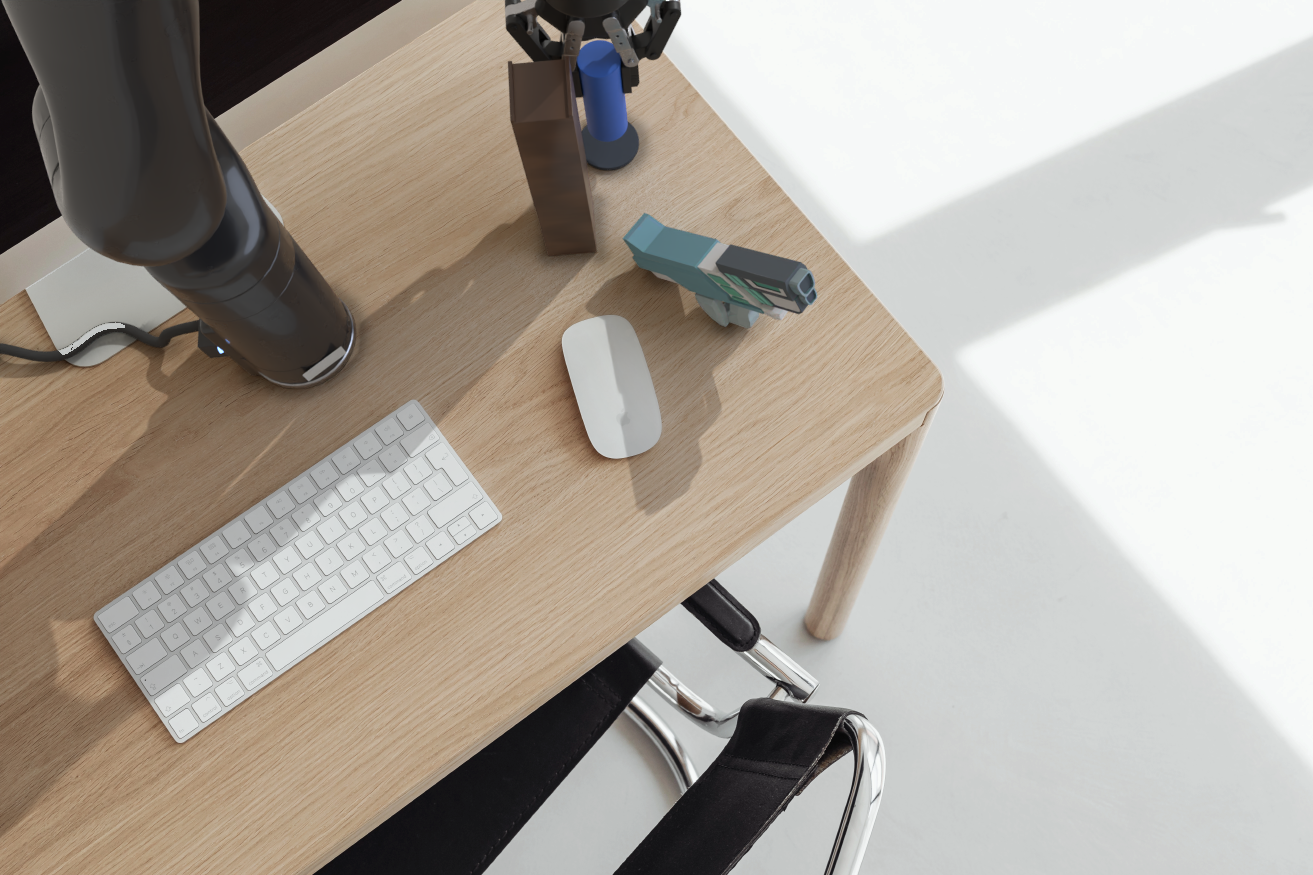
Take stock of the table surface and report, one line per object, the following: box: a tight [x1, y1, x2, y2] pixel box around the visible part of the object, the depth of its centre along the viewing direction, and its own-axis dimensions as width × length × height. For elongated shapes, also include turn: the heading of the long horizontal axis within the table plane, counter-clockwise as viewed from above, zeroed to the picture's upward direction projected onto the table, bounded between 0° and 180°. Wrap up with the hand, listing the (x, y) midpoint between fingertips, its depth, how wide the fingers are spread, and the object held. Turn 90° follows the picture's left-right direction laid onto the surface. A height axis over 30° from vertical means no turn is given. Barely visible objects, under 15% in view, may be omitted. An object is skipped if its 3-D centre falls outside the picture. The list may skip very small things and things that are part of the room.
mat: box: [581, 121, 640, 171], centre depth 93 cm, size 6×6×1 cm
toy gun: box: [622, 212, 818, 329], centre depth 82 cm, size 4×19×10 cm
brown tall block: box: [507, 56, 598, 257], centre depth 81 cm, size 4×5×20 cm
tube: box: [577, 39, 629, 142], centre depth 85 cm, size 9×4×4 cm
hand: (603, 86), depth 85 cm, fingers closed on tube, 3 cm apart
